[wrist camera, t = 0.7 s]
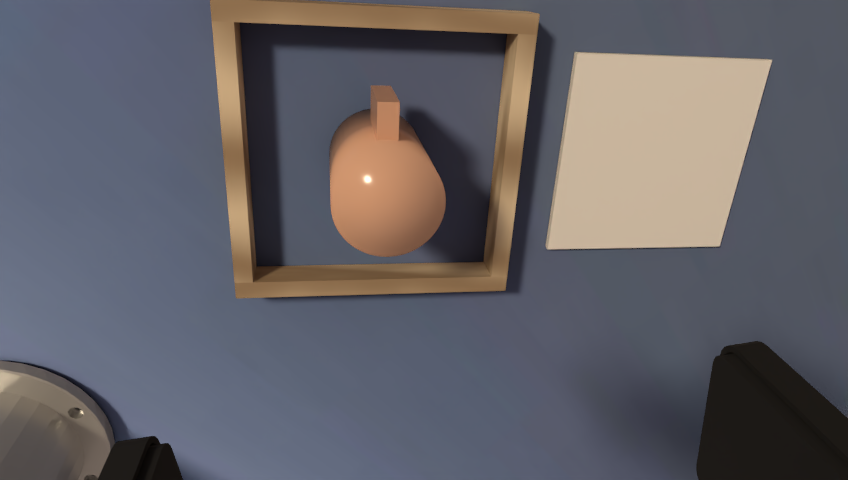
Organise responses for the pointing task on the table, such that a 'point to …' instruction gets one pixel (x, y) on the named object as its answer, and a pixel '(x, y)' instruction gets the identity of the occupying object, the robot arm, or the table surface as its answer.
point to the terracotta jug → (383, 181)
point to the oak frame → (288, 6)
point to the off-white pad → (652, 149)
